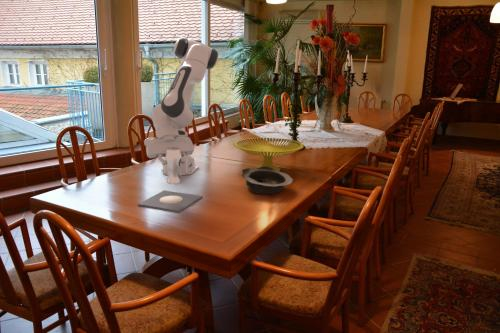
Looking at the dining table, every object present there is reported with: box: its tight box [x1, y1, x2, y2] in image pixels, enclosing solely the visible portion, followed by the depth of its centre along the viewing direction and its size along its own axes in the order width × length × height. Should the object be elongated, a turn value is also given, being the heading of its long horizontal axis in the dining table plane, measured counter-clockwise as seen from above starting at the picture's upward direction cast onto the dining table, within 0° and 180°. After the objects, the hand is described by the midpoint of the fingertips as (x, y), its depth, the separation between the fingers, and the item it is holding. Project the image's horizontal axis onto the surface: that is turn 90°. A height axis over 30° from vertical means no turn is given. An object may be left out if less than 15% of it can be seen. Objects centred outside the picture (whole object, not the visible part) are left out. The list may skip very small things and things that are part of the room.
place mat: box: [137, 190, 203, 214], centre depth 173 cm, size 20×20×1 cm
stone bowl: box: [241, 165, 294, 195], centre depth 191 cm, size 25×25×9 cm
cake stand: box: [232, 137, 305, 172], centre depth 226 cm, size 40×40×15 cm
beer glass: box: [165, 147, 182, 185], centre depth 169 cm, size 7×7×15 cm
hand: (173, 163), depth 169 cm, fingers closed on beer glass, 7 cm apart
